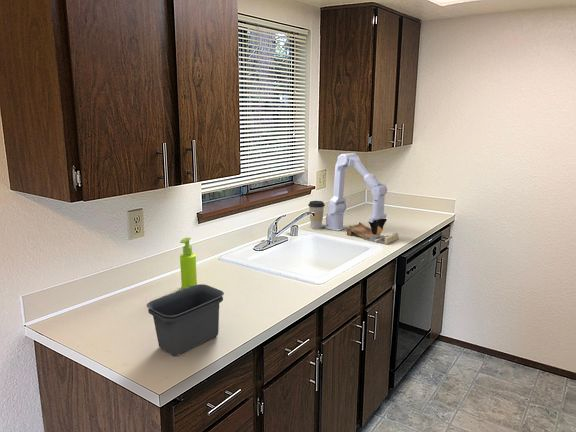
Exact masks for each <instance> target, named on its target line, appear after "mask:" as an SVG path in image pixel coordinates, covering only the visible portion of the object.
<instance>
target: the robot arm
mask: <svg viewBox="0 0 576 432" xmlns="http://www.w3.org/2000/svg"><path fill="white" fill-rule="evenodd" d="M349 167H350V168H355V170H356V171H357V172H358V173H359V174H360V175H361V176H362V177H363V182H364V183H365V184H366V185H367V187H369V189H370V193H371V195H372V215H371V216H370V217H369V218H368V224H369V226H370V229H371V230H372V234H375V235H376V234H377V228H378V226H379V227H381V229H382V231H383V229H384V226H385V224H386V222H387V221H388V220H387V213H384V211H385V196H386V195H387V193H388V188H387V186H386V184H384V183H382V182H380V181H379V180H378V179H377V178H376V175H375V174H374V173H369V172H368V169H366V167H365V166H364V164H363V163H362V161H361V159H360V156H358V155H357V153H356V152H351V153H350V152H349V153H341V154H339V155H338V156H337V161H336V163H335V167H334V180H333V193H332V195H333V196H332V197H331V198H330V199H329V204H328V205H327V209H328V212H327V213H326V215H325V227H324V229H327V230H331V231H335V232H336V231H337V232H340V231H343V230H347V228H346V227H345V226H344V213H345V211H346V210H347V203H346V198H345V197H344V191H345V190H344V189H345V179H346V178H345V177H346V176H345V175H346V169H348V168H349Z"/></svg>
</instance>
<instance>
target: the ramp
mask: <svg viewBox="0 0 576 432" xmlns="http://www.w3.org/2000/svg"><path fill="white" fill-rule="evenodd" d="M346 235H347V236H351V237H352V236H353V235H357V236H359V237H360V238H362V240H364V239H365V238H366V239H369V237H372V236H374V234H372V230H371V227H368V226H367V225H366V224H364V223H362V222H358V224H354V225H349V226H348V227H347V228H346Z"/></svg>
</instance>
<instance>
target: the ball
mask: <svg viewBox="0 0 576 432" xmlns="http://www.w3.org/2000/svg"><path fill="white" fill-rule="evenodd" d="M382 232H383V230H382V229H381V227H379V226H378V228H377V234H376V235H382ZM374 235H375V234H374Z"/></svg>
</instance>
